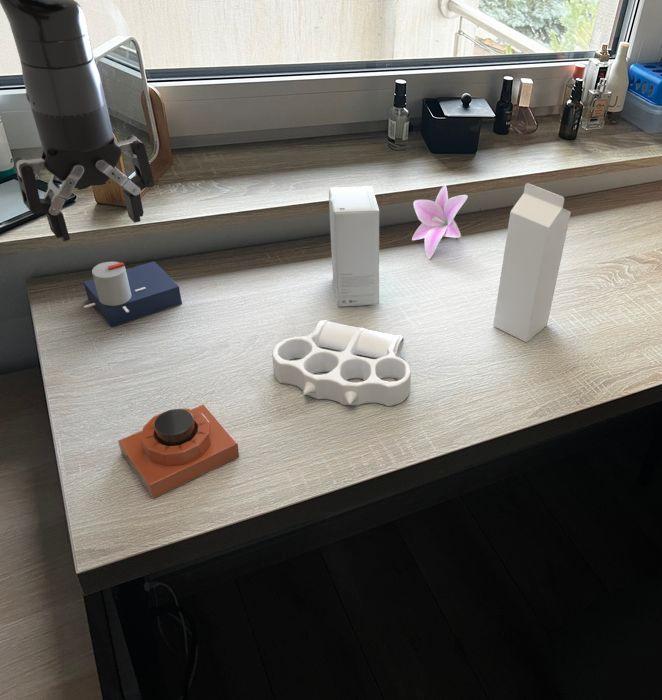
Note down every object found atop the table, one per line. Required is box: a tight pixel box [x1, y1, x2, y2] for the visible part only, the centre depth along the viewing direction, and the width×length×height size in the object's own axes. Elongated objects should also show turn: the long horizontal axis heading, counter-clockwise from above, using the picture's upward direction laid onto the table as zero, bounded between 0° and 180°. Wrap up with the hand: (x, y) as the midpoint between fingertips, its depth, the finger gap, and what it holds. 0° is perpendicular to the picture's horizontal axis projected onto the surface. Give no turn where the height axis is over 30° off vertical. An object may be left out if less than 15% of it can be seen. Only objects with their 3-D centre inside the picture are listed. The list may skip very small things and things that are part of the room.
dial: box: [91, 261, 131, 306], centre depth 96 cm, size 4×4×5 cm
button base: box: [117, 404, 240, 499], centre depth 80 cm, size 10×8×4 cm
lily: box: [411, 183, 469, 260], centre depth 122 cm, size 12×12×10 cm
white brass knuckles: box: [272, 319, 412, 407], centre depth 94 cm, size 3×18×15 cm
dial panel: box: [83, 261, 183, 328], centre depth 100 cm, size 12×10×3 cm
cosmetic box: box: [328, 185, 380, 308], centre depth 105 cm, size 8×7×16 cm
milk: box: [492, 182, 572, 343], centre depth 100 cm, size 6×6×22 cm
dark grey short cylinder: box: [154, 408, 196, 446], centre depth 78 cm, size 4×4×2 cm
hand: (100, 228), depth 90 cm, fingers open, 8 cm apart
